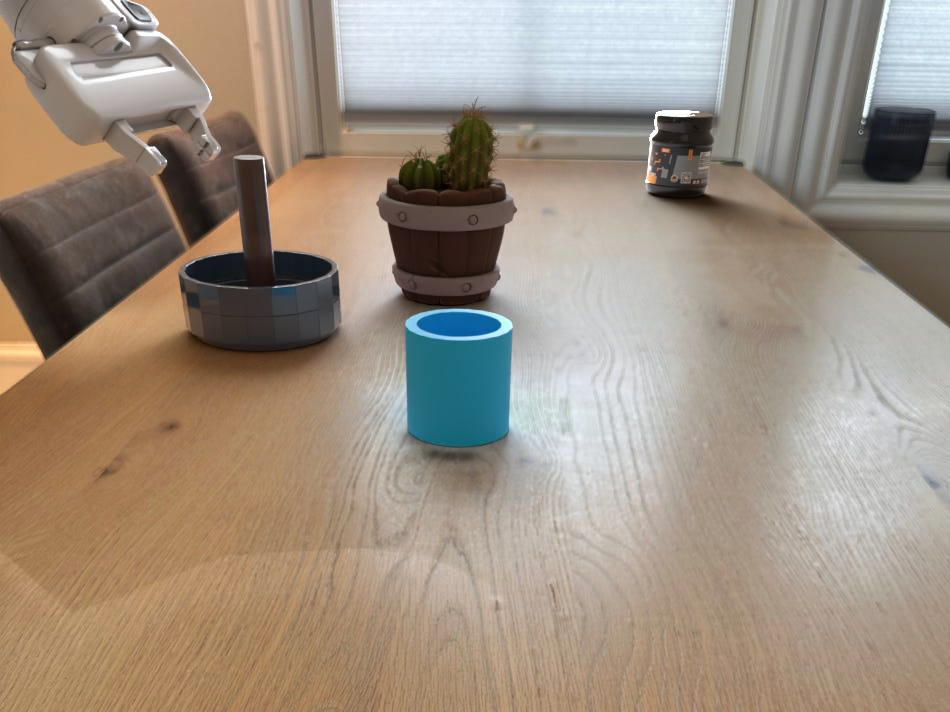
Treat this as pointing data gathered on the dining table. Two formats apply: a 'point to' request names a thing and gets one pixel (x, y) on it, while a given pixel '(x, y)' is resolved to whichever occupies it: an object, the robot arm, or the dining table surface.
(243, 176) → the stick
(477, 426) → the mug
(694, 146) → the supplement container
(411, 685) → the dining table surface
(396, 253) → the flowerpot
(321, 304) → the bowl
